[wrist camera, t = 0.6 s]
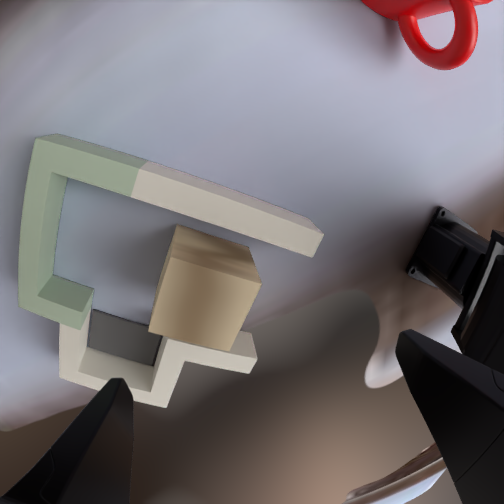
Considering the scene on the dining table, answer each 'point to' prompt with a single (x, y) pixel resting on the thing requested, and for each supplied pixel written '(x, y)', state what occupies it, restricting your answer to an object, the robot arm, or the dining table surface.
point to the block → (204, 290)
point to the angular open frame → (80, 297)
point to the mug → (427, 4)
